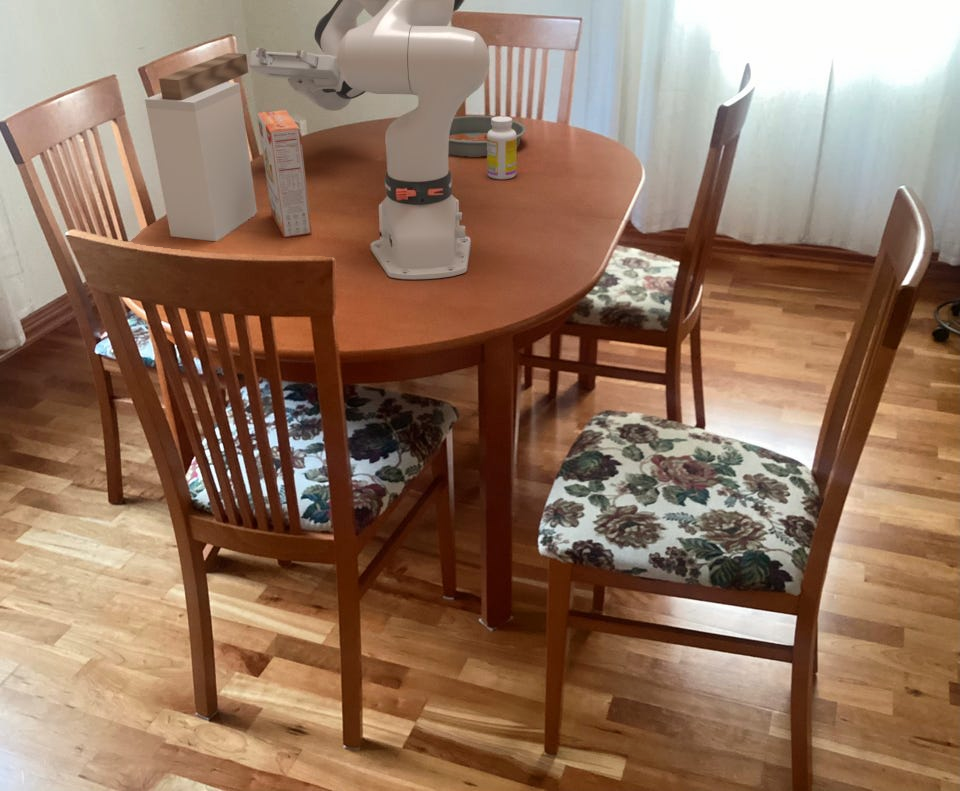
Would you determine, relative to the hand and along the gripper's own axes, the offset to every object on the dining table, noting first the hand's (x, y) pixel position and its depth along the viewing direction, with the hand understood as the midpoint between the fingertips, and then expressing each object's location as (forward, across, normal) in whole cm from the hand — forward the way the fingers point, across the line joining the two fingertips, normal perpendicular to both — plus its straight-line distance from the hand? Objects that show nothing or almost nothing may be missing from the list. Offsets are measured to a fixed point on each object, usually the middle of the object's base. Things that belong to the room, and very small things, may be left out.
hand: (279, 52), depth 192 cm
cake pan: (-48, +31, +5) cm, 58 cm away
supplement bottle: (-29, +44, +16) cm, 55 cm away
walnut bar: (+20, -3, +13) cm, 24 cm away
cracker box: (+8, +12, +36) cm, 39 cm away
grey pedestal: (+11, -3, +38) cm, 40 cm away
